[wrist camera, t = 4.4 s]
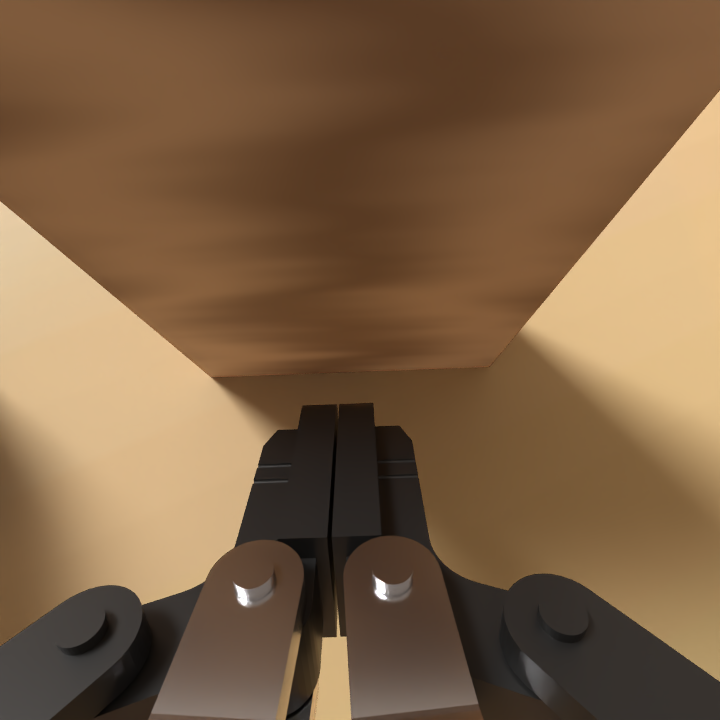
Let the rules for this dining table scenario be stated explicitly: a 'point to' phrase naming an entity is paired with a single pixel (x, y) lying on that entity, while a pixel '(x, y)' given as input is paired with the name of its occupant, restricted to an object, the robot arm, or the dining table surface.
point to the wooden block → (340, 161)
